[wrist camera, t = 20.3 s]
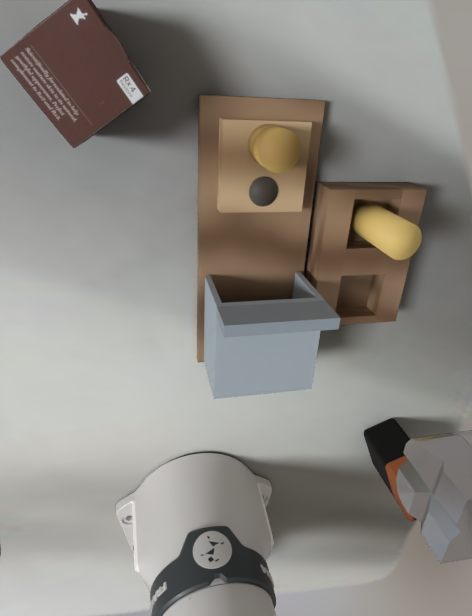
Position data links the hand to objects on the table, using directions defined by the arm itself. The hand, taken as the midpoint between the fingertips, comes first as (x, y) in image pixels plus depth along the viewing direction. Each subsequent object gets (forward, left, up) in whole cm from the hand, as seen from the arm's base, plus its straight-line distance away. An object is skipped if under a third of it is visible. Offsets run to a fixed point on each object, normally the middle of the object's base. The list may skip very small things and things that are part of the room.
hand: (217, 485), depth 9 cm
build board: (-7, -19, -31) cm, 37 cm away
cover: (-13, -9, -30) cm, 34 cm away
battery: (-33, -28, -31) cm, 53 cm away
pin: (-3, -19, -30) cm, 36 cm away
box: (+7, +4, -31) cm, 32 cm away
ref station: (-6, -9, -31) cm, 33 cm away
